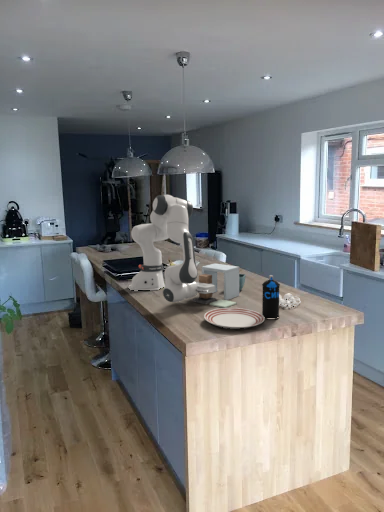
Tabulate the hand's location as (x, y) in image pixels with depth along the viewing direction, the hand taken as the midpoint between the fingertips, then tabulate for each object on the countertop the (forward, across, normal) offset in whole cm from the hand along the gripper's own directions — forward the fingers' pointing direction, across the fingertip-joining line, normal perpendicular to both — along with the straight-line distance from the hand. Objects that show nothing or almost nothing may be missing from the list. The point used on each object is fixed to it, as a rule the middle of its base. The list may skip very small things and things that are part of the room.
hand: (206, 283), depth 233 cm
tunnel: (+12, 0, +9) cm, 15 cm away
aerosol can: (-4, -42, +9) cm, 43 cm away
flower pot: (+28, 0, +9) cm, 29 cm away
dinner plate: (-21, -33, +10) cm, 40 cm away
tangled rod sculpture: (+22, -37, +10) cm, 44 cm away
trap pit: (-2, 0, +9) cm, 9 cm away
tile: (-1, -12, +9) cm, 15 cm away
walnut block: (-1, 0, +7) cm, 7 cm away
